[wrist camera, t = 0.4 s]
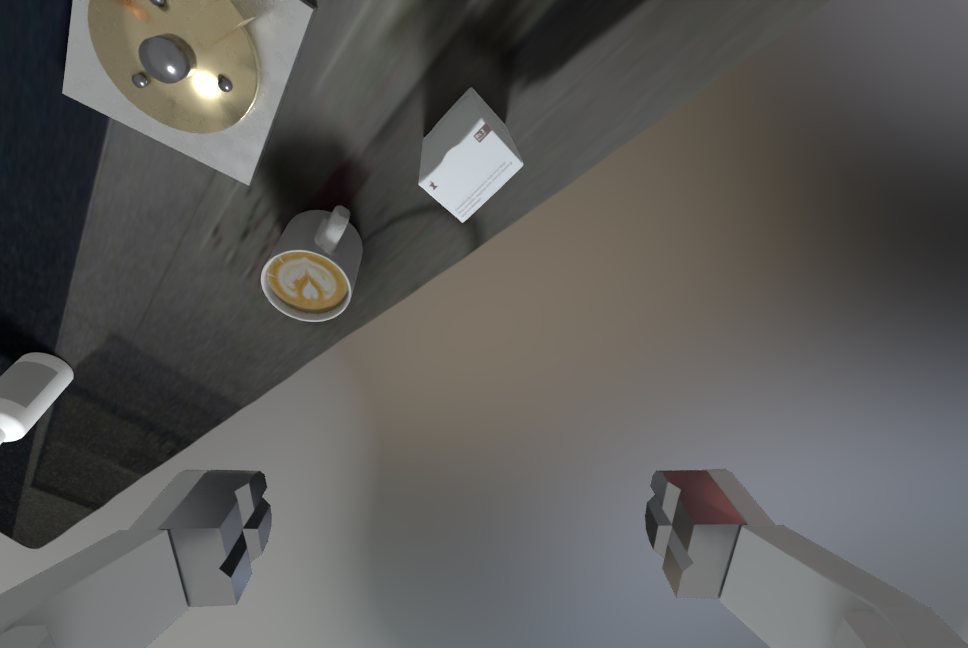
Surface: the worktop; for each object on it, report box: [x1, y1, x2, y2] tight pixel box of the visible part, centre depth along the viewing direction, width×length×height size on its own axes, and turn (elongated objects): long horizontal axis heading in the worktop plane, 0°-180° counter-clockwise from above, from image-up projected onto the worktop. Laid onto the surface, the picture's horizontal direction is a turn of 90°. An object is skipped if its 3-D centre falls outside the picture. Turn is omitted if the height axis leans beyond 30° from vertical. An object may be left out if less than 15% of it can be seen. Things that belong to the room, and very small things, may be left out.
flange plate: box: [88, 0, 260, 134], centre depth 42 cm, size 16×14×5 cm
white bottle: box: [0, 352, 73, 444], centre depth 63 cm, size 7×7×18 cm
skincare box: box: [418, 87, 524, 223], centre depth 47 cm, size 8×6×15 cm
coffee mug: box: [261, 205, 363, 322], centre depth 56 cm, size 13×10×10 cm
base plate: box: [63, 0, 317, 185], centre depth 43 cm, size 20×18×7 cm
